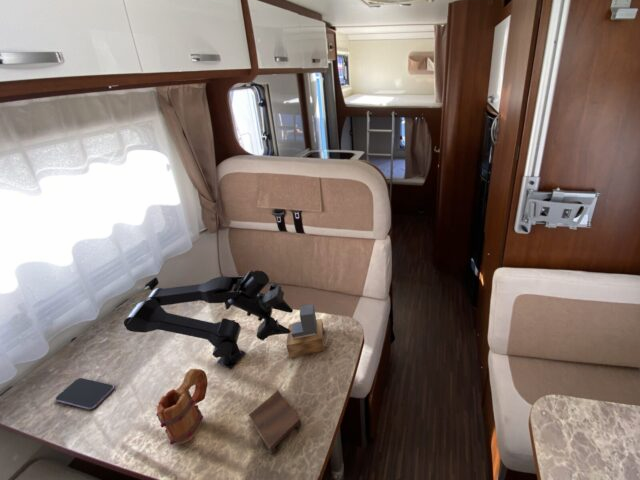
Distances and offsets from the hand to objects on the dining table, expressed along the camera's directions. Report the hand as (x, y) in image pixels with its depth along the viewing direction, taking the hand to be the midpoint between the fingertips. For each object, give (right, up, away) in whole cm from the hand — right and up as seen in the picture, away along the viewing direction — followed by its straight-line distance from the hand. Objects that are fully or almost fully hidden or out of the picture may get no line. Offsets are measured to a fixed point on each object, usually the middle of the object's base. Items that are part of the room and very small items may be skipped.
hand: (291, 321), depth 103 cm
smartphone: (-63, -20, -8) cm, 66 cm away
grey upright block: (+4, -5, +3) cm, 7 cm away
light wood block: (+4, -10, +5) cm, 12 cm away
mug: (-22, -22, -17) cm, 35 cm away
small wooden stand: (+2, -21, -19) cm, 28 cm away
